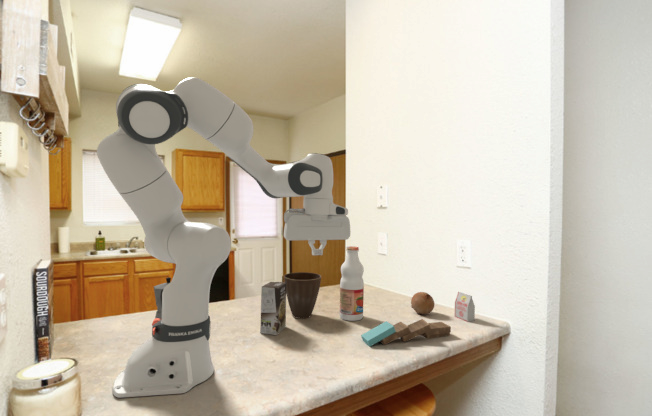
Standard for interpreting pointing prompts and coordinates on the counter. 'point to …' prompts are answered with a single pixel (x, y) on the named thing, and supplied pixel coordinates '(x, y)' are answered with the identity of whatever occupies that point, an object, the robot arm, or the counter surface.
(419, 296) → the onion
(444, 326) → the domino
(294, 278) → the plant pot
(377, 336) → the teal domino tile
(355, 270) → the fruit juice
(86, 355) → the counter surface
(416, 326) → the domino
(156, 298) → the coffeepot
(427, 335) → the domino
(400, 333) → the domino
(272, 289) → the coffee box
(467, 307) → the tea bag
